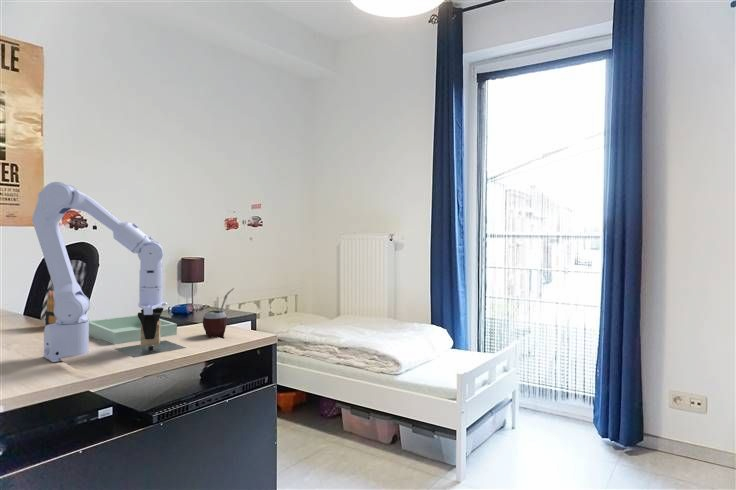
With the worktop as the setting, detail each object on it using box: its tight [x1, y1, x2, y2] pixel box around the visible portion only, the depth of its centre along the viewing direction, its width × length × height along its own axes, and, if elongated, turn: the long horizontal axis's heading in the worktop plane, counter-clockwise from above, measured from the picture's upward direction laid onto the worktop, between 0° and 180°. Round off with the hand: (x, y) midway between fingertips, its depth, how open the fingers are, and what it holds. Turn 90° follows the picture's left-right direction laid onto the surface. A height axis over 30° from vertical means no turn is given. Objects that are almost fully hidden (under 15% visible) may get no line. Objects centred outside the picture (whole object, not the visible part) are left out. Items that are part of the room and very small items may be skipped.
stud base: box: [114, 340, 187, 358], centre depth 129 cm, size 14×12×5 cm
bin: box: [89, 314, 178, 345], centre depth 146 cm, size 18×22×4 cm
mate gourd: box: [202, 287, 235, 339], centre depth 146 cm, size 8×8×15 cm
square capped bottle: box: [140, 321, 161, 346], centre depth 129 cm, size 4×4×8 cm
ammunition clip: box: [45, 289, 57, 326], centre depth 155 cm, size 11×2×12 cm, turn 60°
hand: (150, 336), depth 129 cm, fingers closed on square capped bottle, 4 cm apart
